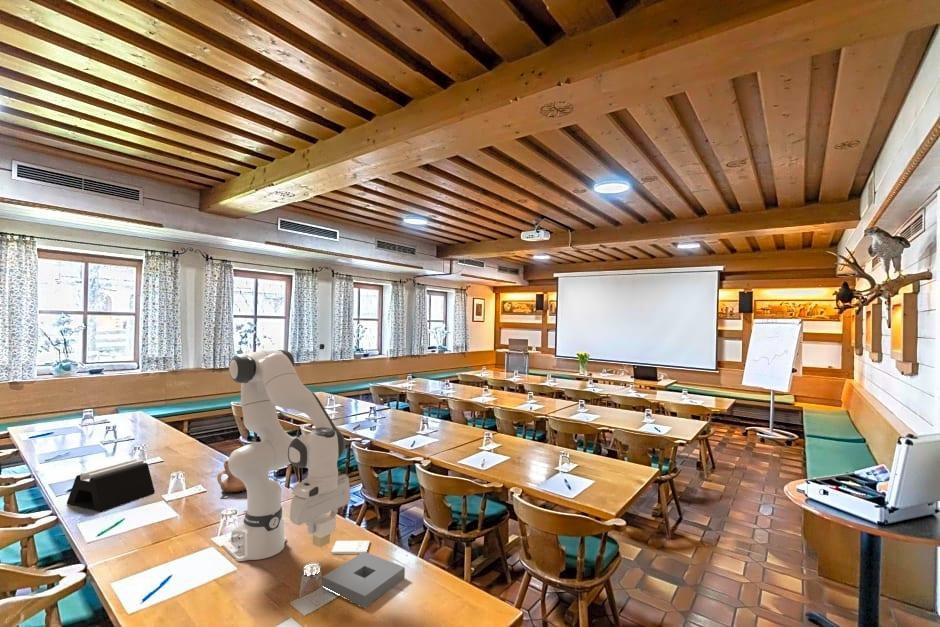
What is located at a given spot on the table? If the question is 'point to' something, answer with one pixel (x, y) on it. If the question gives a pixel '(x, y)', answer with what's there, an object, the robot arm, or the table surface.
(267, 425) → the robot arm
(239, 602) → the table surface
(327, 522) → the cream white block
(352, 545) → the external hard drive
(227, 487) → the ceramic jug
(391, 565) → the socket
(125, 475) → the device stand
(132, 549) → the table surface
